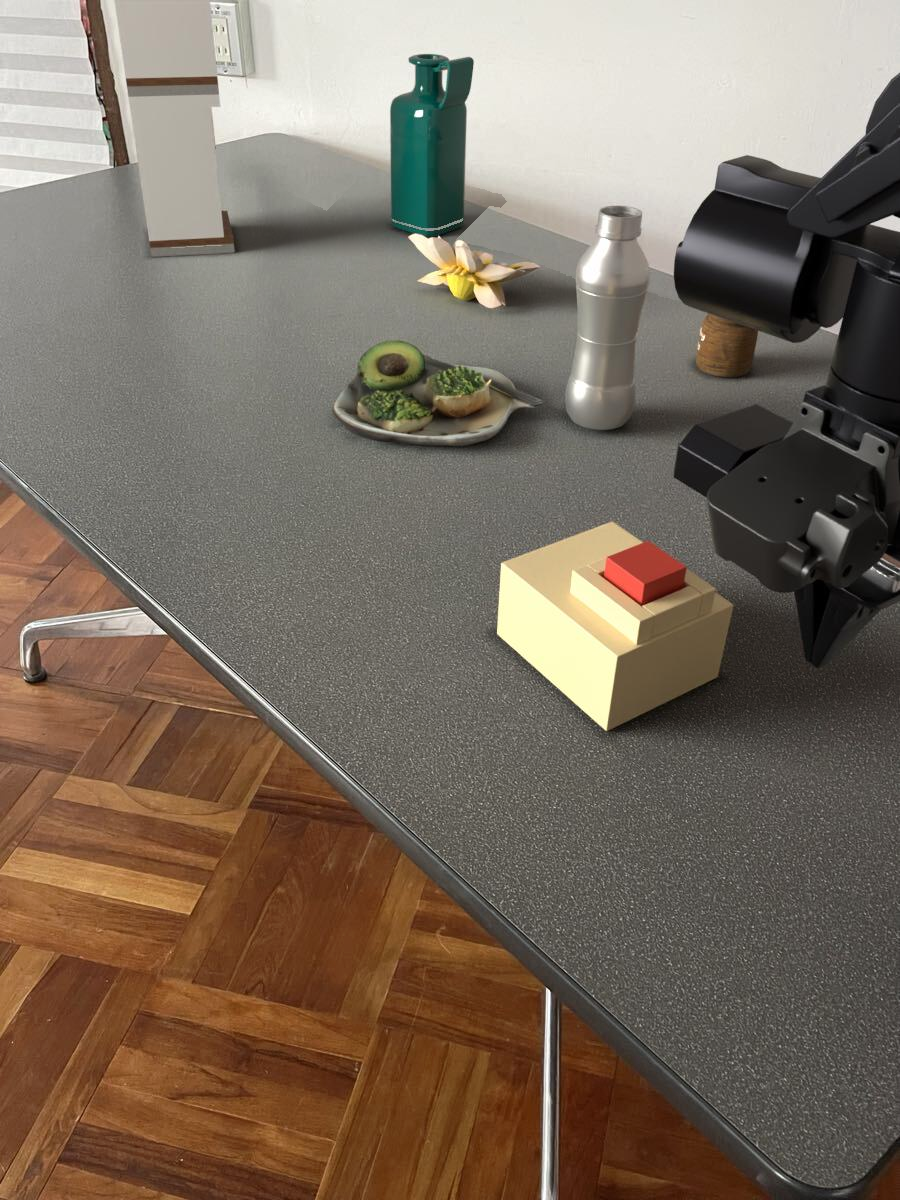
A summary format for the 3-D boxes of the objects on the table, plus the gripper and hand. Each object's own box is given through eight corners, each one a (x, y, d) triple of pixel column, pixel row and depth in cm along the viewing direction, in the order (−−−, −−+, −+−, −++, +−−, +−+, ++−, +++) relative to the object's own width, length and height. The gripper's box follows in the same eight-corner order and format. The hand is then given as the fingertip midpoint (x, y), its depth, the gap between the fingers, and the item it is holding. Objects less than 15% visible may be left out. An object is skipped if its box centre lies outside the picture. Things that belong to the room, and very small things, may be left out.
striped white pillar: (234, 252, 141) (204, -59, 120) (151, 256, 139) (105, -59, 118) (228, 225, 150) (199, -69, 129) (150, 229, 148) (107, -69, 127)
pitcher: (385, 226, 151) (382, 53, 138) (424, 213, 156) (425, 45, 143) (437, 242, 146) (440, 64, 133) (476, 228, 151) (482, 55, 138)
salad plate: (555, 384, 110) (558, 342, 107) (521, 466, 96) (524, 420, 93) (375, 362, 114) (374, 320, 111) (317, 438, 100) (314, 392, 97)
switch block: (718, 677, 73) (739, 582, 68) (606, 731, 69) (620, 633, 64) (603, 590, 81) (615, 499, 76) (496, 634, 77) (502, 540, 72)
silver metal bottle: (636, 439, 101) (666, 224, 89) (565, 437, 101) (585, 222, 89) (627, 408, 106) (654, 201, 94) (559, 407, 106) (577, 199, 94)
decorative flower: (564, 285, 128) (553, 205, 122) (503, 331, 123) (488, 250, 117) (473, 262, 137) (458, 187, 131) (413, 304, 132) (394, 228, 126)
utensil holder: (759, 365, 115) (781, 253, 108) (736, 385, 111) (758, 270, 104) (707, 351, 118) (726, 242, 111) (684, 370, 114) (702, 258, 107)
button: (683, 589, 68) (687, 566, 67) (640, 607, 67) (644, 584, 66) (644, 562, 71) (648, 540, 70) (603, 579, 69) (606, 556, 68)
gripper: (609, 338, 47) (576, 618, 57) (982, 533, 35) (863, 850, 44) (782, 292, 53) (726, 556, 62) (1161, 448, 40) (1020, 748, 49)
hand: (817, 662), depth 54 cm, fingers closed
